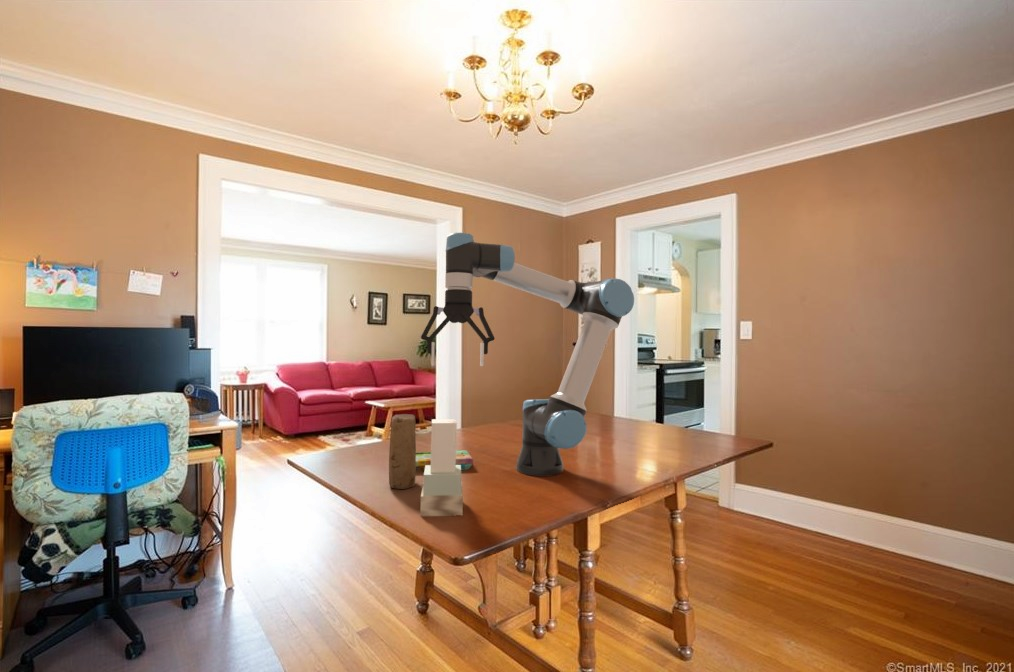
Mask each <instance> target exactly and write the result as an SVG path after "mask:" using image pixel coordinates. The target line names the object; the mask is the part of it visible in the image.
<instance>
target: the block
mask: <svg viewBox="0 0 1014 672" xmlns="http://www.w3.org/2000/svg"><path fill="white" fill-rule="evenodd" d="M416 423H417V422H416V416H415V415H414V414H412V413H411V414H408V413H403V414H402V413H401V414H395V415H393V416H392V417H391V421H390V432H389V433H390V434H389V436H390V437H389V448H388V449H389V450H388V451H389V453H388V485H389V487H390V488H392V489H398V490H404V489H405V490H406V489H410V488H412V487H414V486H415V485H416V469H417V467H416V453H417V452H416V450H417V448H416V447H417V446H416V445H417V444H416V443H417V442H416V441H417V439H416V433H417V432H416V427H417V425H416Z"/></svg>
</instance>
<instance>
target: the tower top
mask: <svg viewBox="0 0 1014 672" xmlns="http://www.w3.org/2000/svg"><path fill="white" fill-rule="evenodd" d="M430 470H431V465H425V470H424V472H423V484H422V487H423V496H443V495H461V483H462V470H461V465H456V466H455V473H430Z"/></svg>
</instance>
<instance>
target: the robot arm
mask: <svg viewBox="0 0 1014 672" xmlns="http://www.w3.org/2000/svg"><path fill="white" fill-rule="evenodd" d="M445 243H446V244H445V245H446V246H445V279H444V280H445V282H444V283H445V286H444V287H445V288H446V290H445V291H444V307H439V306H436V305H435V306H433V309H432V315H431V317H430V319H429V321H428V323H427V324H426V326H425V328H424V329H423V332H422V334H421V336H420V339H421V340H424V341H426V343H427V344H426V345H427V352H426V353H427V354H431V359H430V360H431V362H430V363H431V367H434V366H435V344H436V343H435V341H433V340H434V339H435V338H436V337H437V335H438V334H439V333H440V332H441V331H442V330H443V328H444V327H446V325H447V324H448V323H449V322H450V323H452V324H456V323H459V324H464V323H465V324H466V323H467V324H468V325H469V326H470V327H471V329H472V330H473V331H474V332H475V333H476V334H477V336H478V337H479V338H480V339H481V340H482V342H480V345H479V346H480V347H479V348H480V349H479V350H480V351H479V354H480V355H479V357H480V358H479V360H480V362H479V367H484V365H485V359H484V358H485V355H488V352H489V343H490V342H492V341H493V342H494V341H495V336H494V332H492V329H491V327H490V325H489V323H488V321H487V319H486V317H485V314H484V308H483V307H478V308H477V307H476V308H474V307H473V291H472V290H471V289H473V278H485V279H487V280H490V281H493V282H496V283H500V284H503V285H505V286H509V287H511V288H514V289H517V290H520V291H523V292H526V293H529V294H531V295H535V296H537V297H540V298H543V299H546V300H549V301H552V302H555V303H558V304H559V305H560V307H561V308H563V309H566V310H569V311H571V312H573V313H574V312H575V313H577V314H579V315H582V317H583V319H584V322H583V325H582V328H581V330H580V333H579V336H578V339H577V341H576V343H575V346H574V348H573V350H572V353H571V356H570V360H569V362H568V364H567V366H566V370H565V372H564V374H563V377H562V380H561V382H560V384H559V385H560V386H559V388H558V389H557V392H556V393H554V394H552V395H550V397H549V398H547V399H546V398H545V399H544V398H543V399H526V400H524V401H523V405H522V432H521V433H522V434H521V435H522V437H521V438H522V439H521V440H522V442H521V445H522V446H521V449H520V451H519V454H518V458H517V460H516V471H518V472H519V473H521V474H525V475H528V476H529V475H530V476H537V477H545V476H546V477H547V476H548V475H549V476H555V474H556V475H559V474H558V473H560V472H562V471H563V472H564V462H563V460H562V459H563V458H562V456H561V453H560V449H562V450H569V449H572V448H574V447H577V446H578V445H579V444H580V443H581V442H582V441H583V440H584V438H585V436H586V433H587V423H586V419H585V417H586V413H587V412H588V411H587V407H586V405H585V402H586V398H587V397H588V393H589V391H590V388H591V385H592V383H593V380H594V378H595V375H596V372H597V369H598V367H599V363H600V361H601V359H602V357H603V354H604V351H605V348H606V346H607V343H608V340H609V337H610V335H611V332H612V331H613V330H615V329H618V327H619V325H620V323H621V321H622V318H623V317H625V316H627V315H629V314H630V313H631V311H632V309H633V307H634V303H635V296H634V292H633V291H632V288H631V286H630V285H629V283H628V282H626V281H625V280H623V279H621V278H611V277H610V278H606V279H604V280H598V281H591V282H582V281H581V282H580V281H577V280H573V279H570V280H568V281H567V280H566V279H565V280H564V279H562V278H559V277H556V276H553V275H550V274H548V273H545V272H542V271H539V270H536V269H533V268H530V267H528V266H525V265H522V264H519V263H517V262H515V260H516V253H515V250H514V248H513V247H512V246H511V245H507V244H506V245H505V244H502V243H501V244H498V243H497V244H496V243H481V242H476V241H475V240H474V236H473V235H472V234H471V233H467V232H452V233H449V235H447V237H446V242H445ZM442 312H443V314H444V315H445V316H446V317H445V319H444V320H443V321H442V322H441V323H440V324H439V325H438V327H437V328H436V329H435V330H434V331H433V332H432V333H431V334H430V336H428V335H429V331H430V330H431V328H432V326H433V325H434V323H435V321H436V319H437V317H438V315H441V313H442ZM474 313H475V315H476V316H478V317H479V320H480V322H481V325H482V326H483V329H484V330H485V332H486V335H485V334H484V333H483V331H482V330H481V329H480V328H479V327H478V326H477V324H476V323H475V321H474V320H473V319H472V318H471V317H472V315H473V314H474ZM563 472H562V473H563ZM560 474H561V473H560Z"/></svg>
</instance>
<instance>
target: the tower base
mask: <svg viewBox="0 0 1014 672" xmlns="http://www.w3.org/2000/svg"><path fill="white" fill-rule="evenodd" d="M463 491H464V490H463V483H462V482H461V495H443V496H423V486H422V488H421V493H420V515H419V516H420V517H449V516H451V517H453V516H455V517H457V516H456V515H461V516H463V514H464V513H463V508H464V507H463V506H464V504H463V503H464V493H463ZM452 515H453V516H452Z"/></svg>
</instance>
